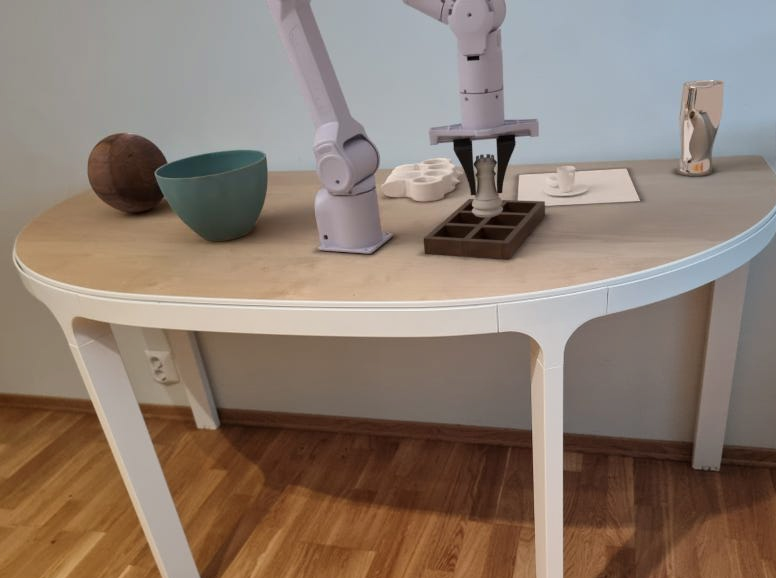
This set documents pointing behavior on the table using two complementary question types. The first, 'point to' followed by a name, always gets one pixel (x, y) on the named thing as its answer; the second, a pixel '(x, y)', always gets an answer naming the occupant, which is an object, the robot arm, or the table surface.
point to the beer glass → (699, 125)
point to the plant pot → (217, 191)
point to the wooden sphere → (126, 172)
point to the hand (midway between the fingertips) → (486, 192)
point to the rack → (485, 230)
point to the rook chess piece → (486, 188)
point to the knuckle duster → (422, 180)
